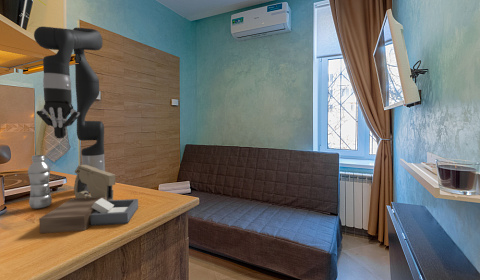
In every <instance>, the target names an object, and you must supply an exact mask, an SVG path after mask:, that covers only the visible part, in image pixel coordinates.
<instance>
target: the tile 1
mask: <svg viewBox="0 0 480 280" xmlns="http://www.w3.org/2000/svg"><path fill="white" fill-rule="evenodd" d="M113 207H114V205H113V204H111V203H110V202H108V201H106V200H105V199H103V198H101V199H99V200H98V201H96V202H95V203H94V204H93V206H92V208H93V209H95V210H97V211H99V212H100V213H108V212H109V211H110V210H111V209H112V208H113Z"/></svg>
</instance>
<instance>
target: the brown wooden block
mask: <svg viewBox="0 0 480 280" xmlns="http://www.w3.org/2000/svg"><path fill="white" fill-rule="evenodd" d="M101 198H103V199H105V200H106V201H107V197H96V198H76V197H75V198H70V199H68V200H67V201H65V202H64V203H62V204H61V205H59V206H57V207H55V208H54V209H52V210H51V211H49V212H48V213H46V214H44V215H43V216H41V217H39V220H38V221H39V233H40V234H49V233H51V234H52V233H63V232H64V233H65V232H77V231H78V232H79V231H86V230H87V229H88V228H89V227H90V226H91V219H90V215H91V214H92V213H93V212H94V211H96V210H95V209H93V208H92V206H93V204H94V203H95V202H96V201H98V200H99V199H101Z"/></svg>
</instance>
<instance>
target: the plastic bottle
mask: <svg viewBox="0 0 480 280" xmlns="http://www.w3.org/2000/svg"><path fill="white" fill-rule="evenodd" d="M45 161H46V155H44V154H42V155H41V154H40V155H39V154H37V155H32V156H31V162H32V163H31V164H30V165H29V166H28V169H27V174H28V175H27V176H28V178H29V186H30V193H29V196H30V197H29V199H28V200H29V201H28V204H29V208H31V209H43V208H46V207H49V206H50V205H51V204H52V200H53V199H52V194H51V191H50V174H51V168H50V165H49V164H48V163H46V162H45Z"/></svg>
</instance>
